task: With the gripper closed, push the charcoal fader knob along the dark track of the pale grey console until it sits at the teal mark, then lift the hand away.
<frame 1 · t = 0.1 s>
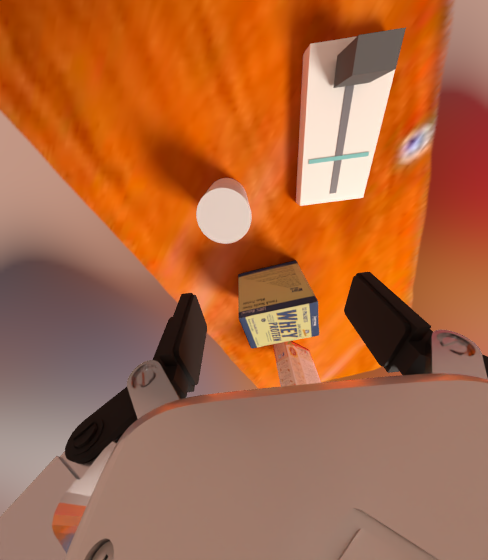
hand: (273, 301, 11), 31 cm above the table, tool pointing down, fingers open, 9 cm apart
protein box: (269, 282, 49), on the table
white cylinder: (227, 200, 37), on the table
fader knob: (364, 61, 22), point 6 cm above the table, slide at 0.0 cm
cracker box: (291, 347, 67), on the table
fader console: (333, 136, 31), on the table
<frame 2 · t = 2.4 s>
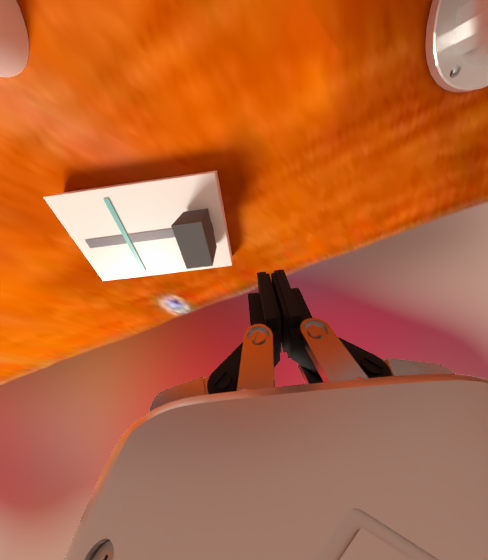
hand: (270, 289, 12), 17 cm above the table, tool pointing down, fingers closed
fader knob: (197, 237, 21), point 6 cm above the table, slide at 0.0 cm
fader console: (157, 227, 26), on the table
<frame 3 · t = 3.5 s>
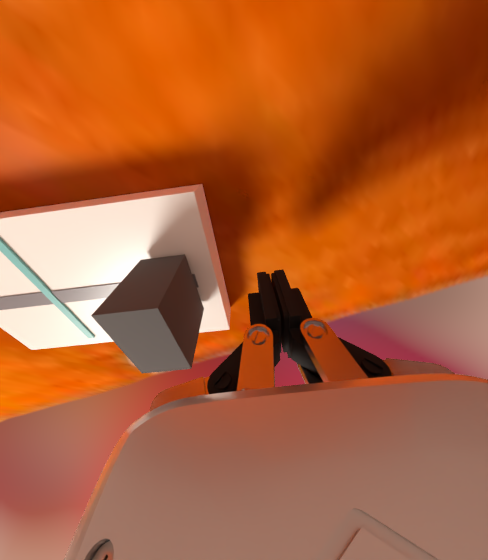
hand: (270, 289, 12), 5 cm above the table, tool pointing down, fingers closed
fader knob: (164, 311, 11), point 6 cm above the table, slide at 0.0 cm
fader console: (111, 271, 16), on the table
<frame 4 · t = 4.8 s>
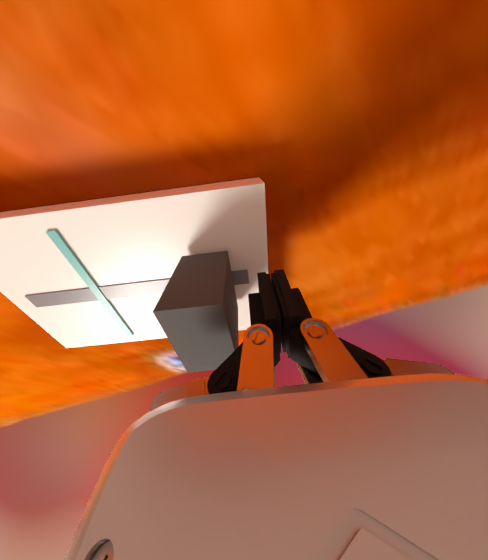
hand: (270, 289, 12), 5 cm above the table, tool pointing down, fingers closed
fader knob: (208, 308, 11), point 6 cm above the table, slide at 1.1 cm, touching gripper
fader console: (152, 268, 16), on the table
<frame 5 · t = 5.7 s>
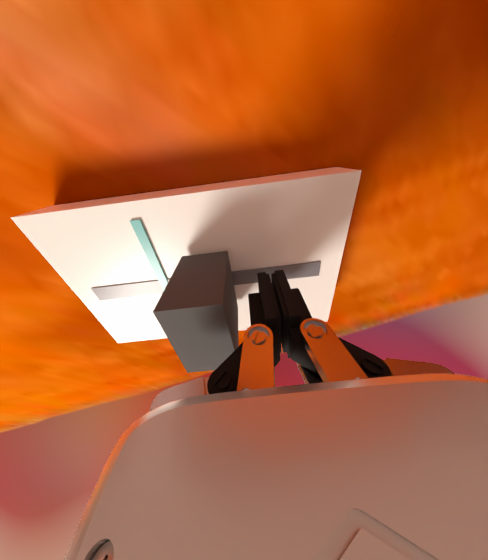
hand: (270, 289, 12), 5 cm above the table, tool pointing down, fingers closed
fader knob: (208, 308, 11), point 6 cm above the table, slide at 6.4 cm, touching gripper
fader console: (209, 261, 16), on the table
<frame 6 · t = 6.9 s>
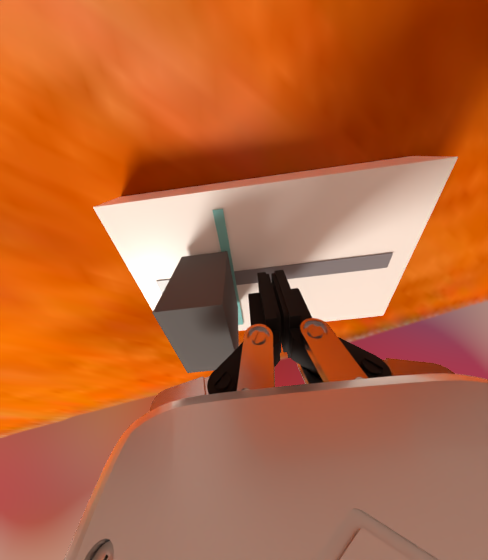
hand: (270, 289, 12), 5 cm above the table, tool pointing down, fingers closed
fader knob: (208, 308, 11), point 6 cm above the table, slide at 11.4 cm, touching gripper
fader console: (266, 254, 16), on the table
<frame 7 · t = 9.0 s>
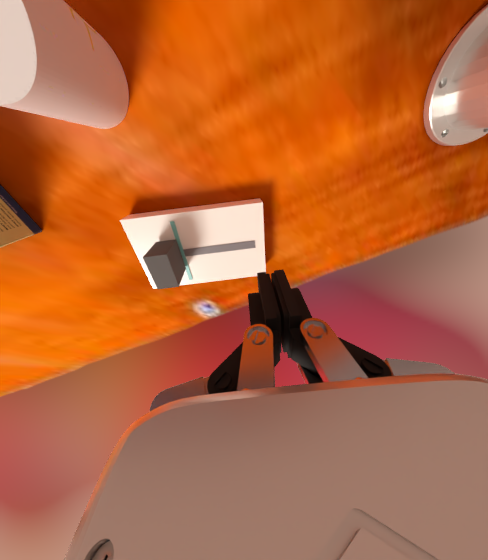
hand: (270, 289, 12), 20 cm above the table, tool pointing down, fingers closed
white cylinder: (89, 80, 20), on the table
fader knob: (167, 263, 26), point 6 cm above the table, slide at 11.6 cm
fader console: (203, 243, 31), on the table
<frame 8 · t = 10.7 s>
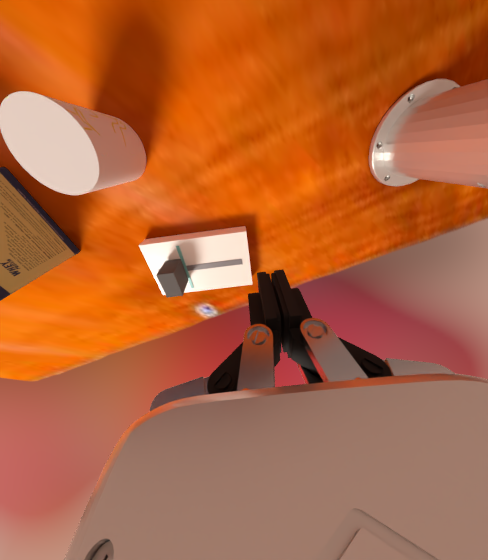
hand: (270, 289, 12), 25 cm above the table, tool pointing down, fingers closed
protein box: (26, 221, 33), on the table
white cylinder: (118, 151, 28), on the table
fader knob: (173, 277, 34), point 6 cm above the table, slide at 11.6 cm
fader console: (202, 259, 39), on the table
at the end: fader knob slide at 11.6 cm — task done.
